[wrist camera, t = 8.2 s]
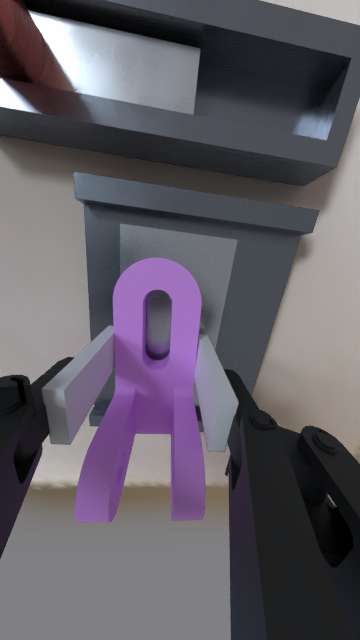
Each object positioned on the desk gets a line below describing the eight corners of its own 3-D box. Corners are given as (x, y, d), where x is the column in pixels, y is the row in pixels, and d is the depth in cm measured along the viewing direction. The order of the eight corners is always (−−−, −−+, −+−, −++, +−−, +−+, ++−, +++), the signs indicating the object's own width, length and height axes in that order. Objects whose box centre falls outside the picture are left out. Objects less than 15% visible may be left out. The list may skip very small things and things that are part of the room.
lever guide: (-15, 132, 10) (-71, 93, 8) (-39, 2, 8) (-118, -95, 6) (304, 186, 11) (336, 166, 9) (333, 84, 10) (381, 31, 8)
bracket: (187, 419, 15) (200, 540, 8) (122, 418, 14) (78, 543, 8) (201, 263, 12) (244, 245, 5) (118, 257, 11) (37, 228, 4)
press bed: (100, 405, 17) (89, 426, 15) (92, 188, 11) (73, 171, 9) (237, 413, 18) (246, 434, 16) (294, 219, 12) (319, 210, 10)
